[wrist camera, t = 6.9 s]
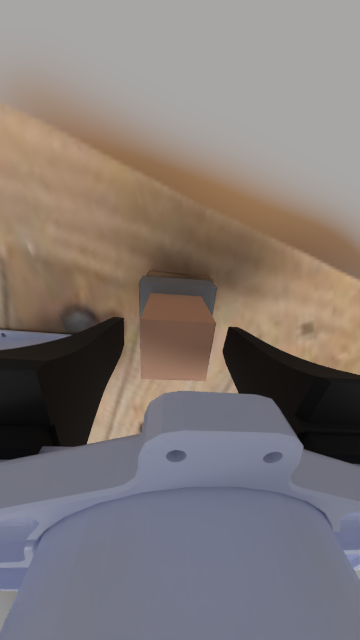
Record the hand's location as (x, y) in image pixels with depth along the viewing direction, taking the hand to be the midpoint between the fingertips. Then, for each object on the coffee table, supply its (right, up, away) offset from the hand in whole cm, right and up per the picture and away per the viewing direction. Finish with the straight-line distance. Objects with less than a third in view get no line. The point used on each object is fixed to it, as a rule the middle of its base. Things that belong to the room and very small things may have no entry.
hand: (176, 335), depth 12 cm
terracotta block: (0, +1, +3) cm, 3 cm away
